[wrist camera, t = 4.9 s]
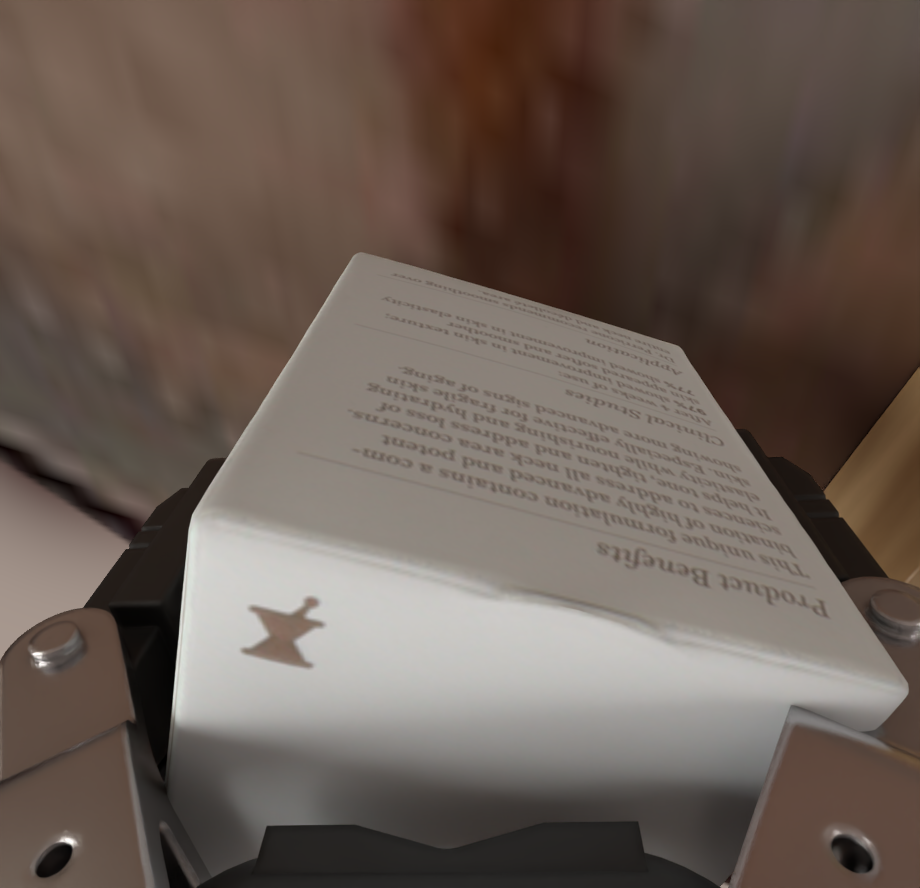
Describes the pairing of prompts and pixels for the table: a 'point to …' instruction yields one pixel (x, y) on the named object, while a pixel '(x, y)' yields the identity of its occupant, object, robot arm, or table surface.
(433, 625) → the product box
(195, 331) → the table surface
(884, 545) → the block stack
